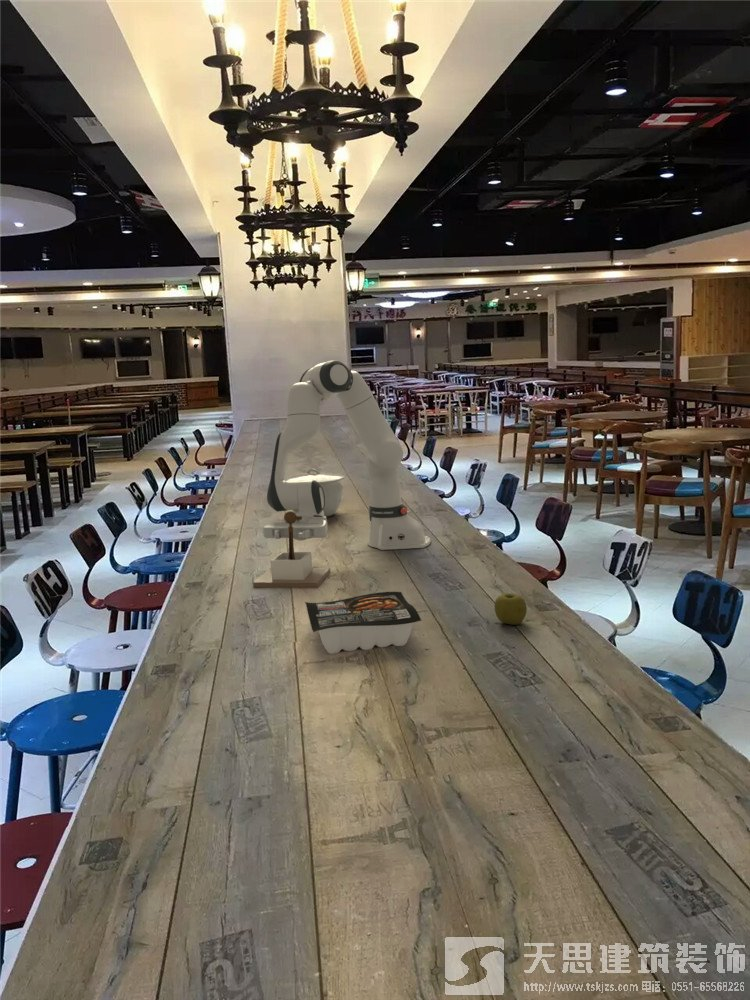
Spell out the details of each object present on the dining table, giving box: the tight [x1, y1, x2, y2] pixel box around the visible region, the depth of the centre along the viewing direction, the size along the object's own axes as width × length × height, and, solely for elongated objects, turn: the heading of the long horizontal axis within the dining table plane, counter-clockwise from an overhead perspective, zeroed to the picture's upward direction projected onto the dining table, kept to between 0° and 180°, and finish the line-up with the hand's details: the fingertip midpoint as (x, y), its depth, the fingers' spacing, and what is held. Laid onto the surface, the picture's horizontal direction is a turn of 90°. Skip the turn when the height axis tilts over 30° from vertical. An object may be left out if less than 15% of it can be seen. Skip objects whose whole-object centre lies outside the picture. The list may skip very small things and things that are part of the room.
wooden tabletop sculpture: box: [283, 510, 302, 560], centre depth 238 cm, size 6×5×20 cm
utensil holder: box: [252, 551, 331, 589], centre depth 239 cm, size 20×16×8 cm
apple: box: [494, 593, 528, 626], centre depth 192 cm, size 8×8×7 cm
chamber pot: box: [285, 467, 346, 518], centre depth 333 cm, size 28×28×21 cm
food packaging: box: [304, 591, 422, 655], centre depth 188 cm, size 25×8×23 cm
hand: (288, 536), depth 236 cm, fingers open, 6 cm apart
